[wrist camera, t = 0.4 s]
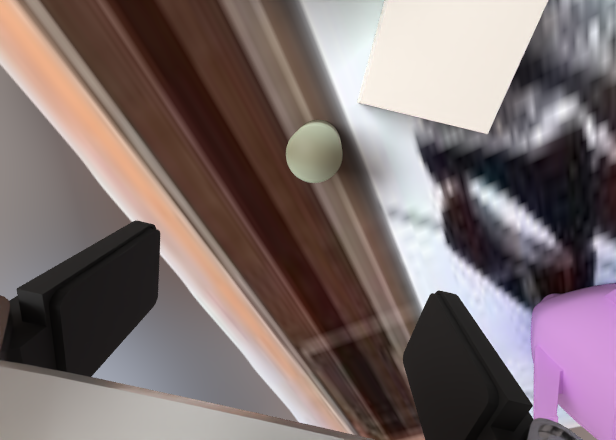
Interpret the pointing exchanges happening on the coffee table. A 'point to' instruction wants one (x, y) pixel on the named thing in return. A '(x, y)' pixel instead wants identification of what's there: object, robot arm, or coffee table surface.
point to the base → (448, 58)
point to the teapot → (577, 358)
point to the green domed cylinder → (315, 151)
